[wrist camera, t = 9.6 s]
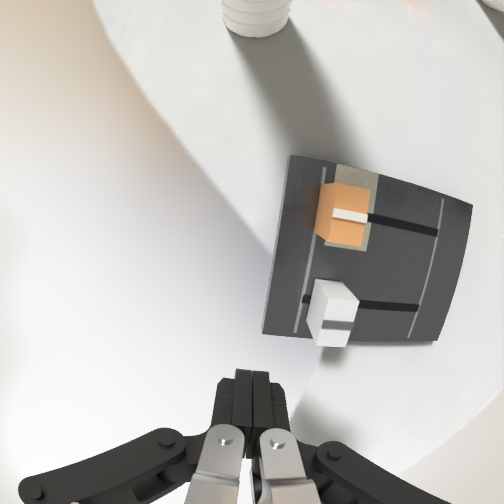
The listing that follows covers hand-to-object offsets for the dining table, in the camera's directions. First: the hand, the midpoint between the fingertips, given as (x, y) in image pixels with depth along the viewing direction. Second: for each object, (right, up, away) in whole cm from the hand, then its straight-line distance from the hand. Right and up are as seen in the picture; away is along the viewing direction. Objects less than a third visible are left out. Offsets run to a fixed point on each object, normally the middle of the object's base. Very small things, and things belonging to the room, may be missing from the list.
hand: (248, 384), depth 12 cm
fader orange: (+7, +10, +10) cm, 16 cm away
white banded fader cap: (+7, +2, +12) cm, 14 cm away
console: (+13, +5, +13) cm, 19 cm away
